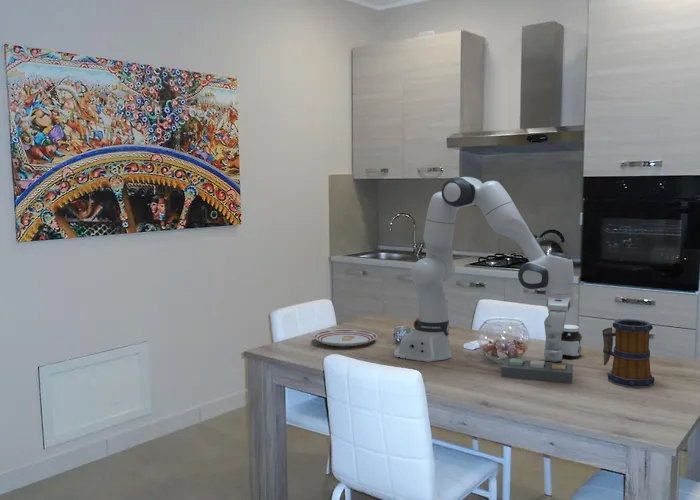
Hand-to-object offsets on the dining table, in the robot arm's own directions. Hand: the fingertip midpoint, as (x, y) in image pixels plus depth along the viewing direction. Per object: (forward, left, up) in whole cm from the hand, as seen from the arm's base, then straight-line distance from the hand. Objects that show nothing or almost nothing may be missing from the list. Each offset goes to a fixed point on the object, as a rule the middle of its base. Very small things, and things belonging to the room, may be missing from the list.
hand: (558, 340), depth 213 cm
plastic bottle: (-3, +19, -13) cm, 24 cm away
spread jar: (+1, +30, -13) cm, 33 cm away
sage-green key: (-14, 0, -10) cm, 17 cm away
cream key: (-7, 0, -10) cm, 12 cm away
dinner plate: (-88, +23, -13) cm, 92 cm away
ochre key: (0, 0, -11) cm, 11 cm away
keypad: (-7, 0, -13) cm, 14 cm away
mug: (+21, +4, -13) cm, 25 cm away
